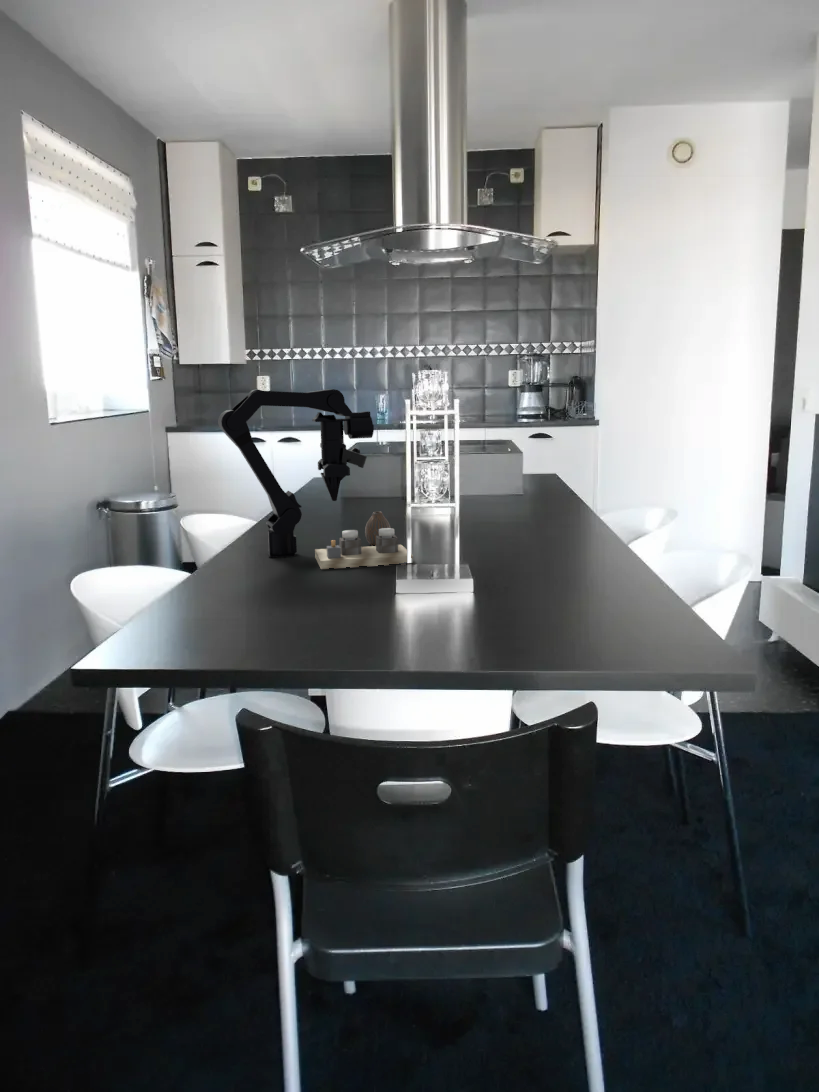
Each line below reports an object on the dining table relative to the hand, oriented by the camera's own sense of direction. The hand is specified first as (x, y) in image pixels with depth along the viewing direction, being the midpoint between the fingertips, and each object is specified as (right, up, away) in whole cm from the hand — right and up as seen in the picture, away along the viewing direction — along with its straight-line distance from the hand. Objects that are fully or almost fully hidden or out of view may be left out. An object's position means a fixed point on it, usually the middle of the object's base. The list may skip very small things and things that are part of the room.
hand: (334, 500), depth 212 cm
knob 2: (+14, -12, -9) cm, 21 cm away
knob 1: (+5, -13, -11) cm, 18 cm away
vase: (+11, -11, +10) cm, 19 cm away
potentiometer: (+1, -14, -15) cm, 21 cm away
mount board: (+8, -15, -10) cm, 20 cm away
